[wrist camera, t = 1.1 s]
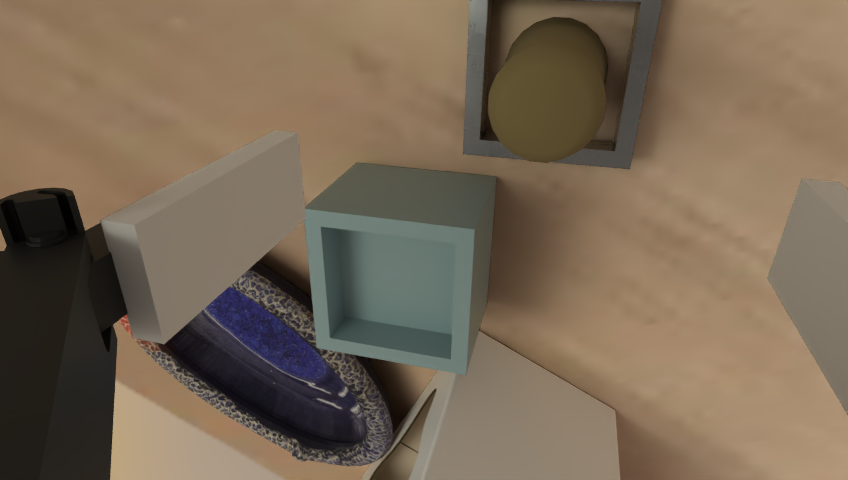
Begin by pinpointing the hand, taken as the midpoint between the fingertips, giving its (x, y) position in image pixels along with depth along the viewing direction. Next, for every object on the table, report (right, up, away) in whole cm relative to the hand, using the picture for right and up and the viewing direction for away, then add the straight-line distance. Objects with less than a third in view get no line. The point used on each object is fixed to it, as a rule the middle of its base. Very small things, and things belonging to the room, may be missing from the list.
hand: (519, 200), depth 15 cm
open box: (-3, -1, +25) cm, 25 cm away
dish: (-17, -8, +34) cm, 39 cm away
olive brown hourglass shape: (+5, +9, +18) cm, 21 cm away
